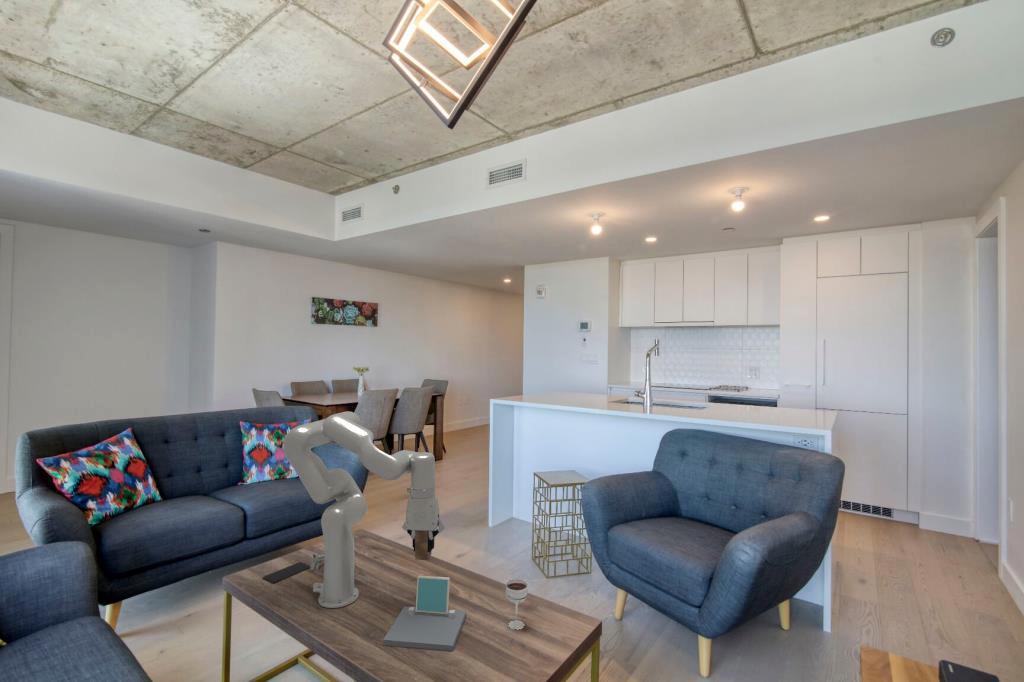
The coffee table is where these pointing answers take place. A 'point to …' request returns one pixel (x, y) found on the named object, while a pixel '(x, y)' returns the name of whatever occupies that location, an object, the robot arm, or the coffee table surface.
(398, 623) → the board
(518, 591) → the wineglass
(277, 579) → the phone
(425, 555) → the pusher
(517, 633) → the coffee table surface
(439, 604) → the tile
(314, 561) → the caliper
